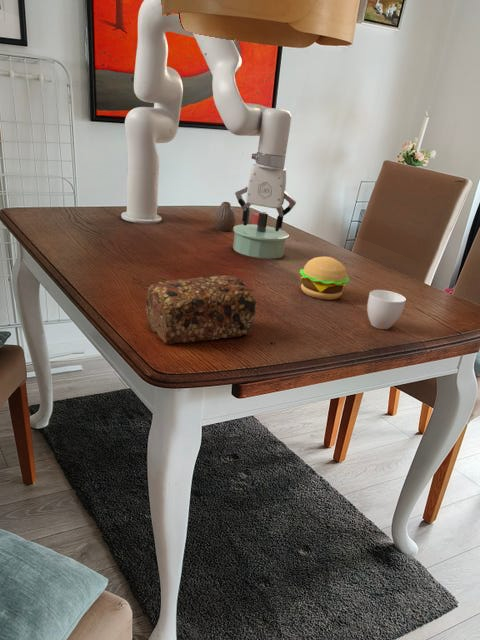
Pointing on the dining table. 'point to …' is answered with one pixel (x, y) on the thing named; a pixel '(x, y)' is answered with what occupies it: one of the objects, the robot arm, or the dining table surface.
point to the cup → (384, 308)
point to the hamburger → (324, 278)
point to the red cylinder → (255, 218)
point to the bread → (200, 309)
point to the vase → (224, 217)
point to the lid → (261, 230)
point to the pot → (258, 247)
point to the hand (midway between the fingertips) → (261, 227)
